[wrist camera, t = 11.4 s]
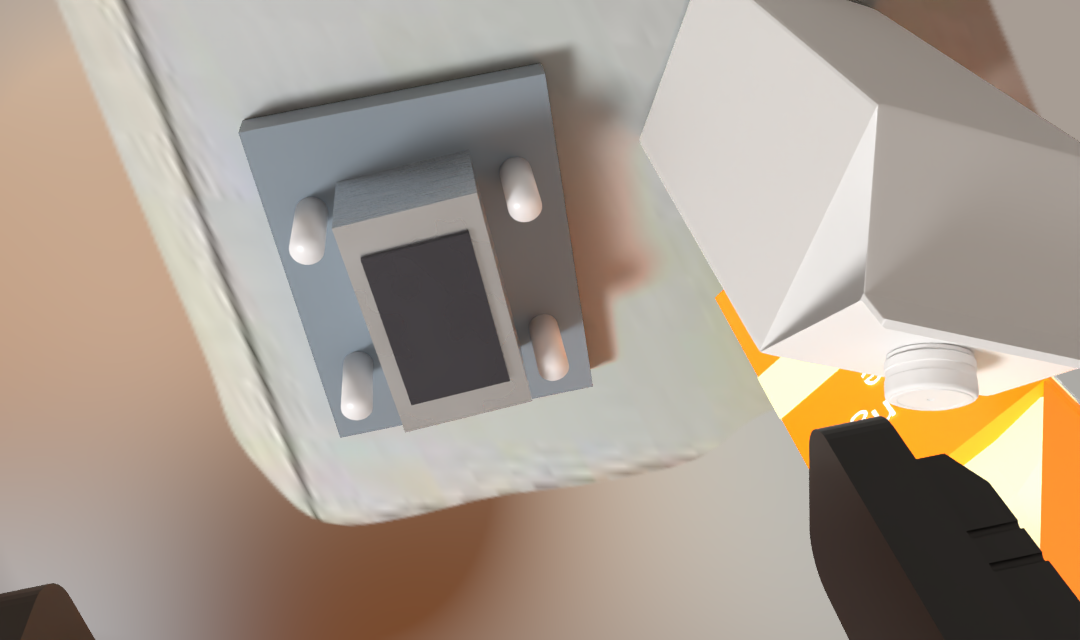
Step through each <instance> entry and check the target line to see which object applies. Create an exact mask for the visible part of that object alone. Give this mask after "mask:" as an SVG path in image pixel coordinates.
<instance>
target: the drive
mask: <svg viewBox="0 0 1080 640" xmlns="http://www.w3.org/2000/svg"><path fill="white" fill-rule="evenodd" d="M332 231H333V234H334V237H335V239H336V242H337V245H338V248H339V250H340V253H341V256H342V259H343V261H344V264H345V267H346V270H347V272H348V275H349V278H350V281H351V284H352V286H353V289H354V292H355V295H356V297H357V300H358V303H359V306H360V308H361V311H362V314H363V317H364V319H365V322H366V325H367V328H368V331H369V333H370V336H371V339H372V342H373V344H374V347H375V350H376V353H377V355H378V358H379V361H380V364H381V367H382V369H383V372H384V375H385V378H386V380H387V383H388V386H389V389H390V391H391V394H392V397H393V400H394V402H395V405H396V408H397V411H398V414H399V416H400V419H401V422H402V425H403V427H404V430H405V432H409V431H413V430H417V429H421V428H425V427H429V426H433V425H437V424H441V423H445V422H449V421H453V420H457V419H461V418H465V417H469V416H473V415H477V414H481V413H485V412H490V411H494V410H498V409H502V408H506V407H510V406H514V405H518V404H522V403H526V402H530V401H532V397H531V393H530V388H529V383H528V378H527V374H526V369H525V364H524V359H523V355H522V350H521V345H520V342H519V338H518V334H517V330H516V326H515V323H514V319H513V315H512V311H511V308H510V304H509V300H508V296H507V292H506V289H505V285H504V281H503V277H502V273H501V270H500V266H499V262H498V258H497V255H496V251H495V247H494V243H493V239H492V236H491V232H490V228H489V224H488V221H487V217H486V213H485V209H484V205H483V202H482V198H481V194H480V190H479V186H478V183H477V179H476V175H475V171H474V168H473V164H472V160H471V156H470V152H469V149H468V150H464V151H460V152H456V153H451V154H447V155H443V156H439V157H435V158H431V159H427V160H423V161H419V162H415V163H411V164H407V165H403V166H399V167H395V168H391V169H387V170H383V171H379V172H375V173H371V174H367V175H363V176H359V177H355V178H351V179H346V180H342V181H338V182H336V188H335V198H334V209H333V220H332Z"/></svg>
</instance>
